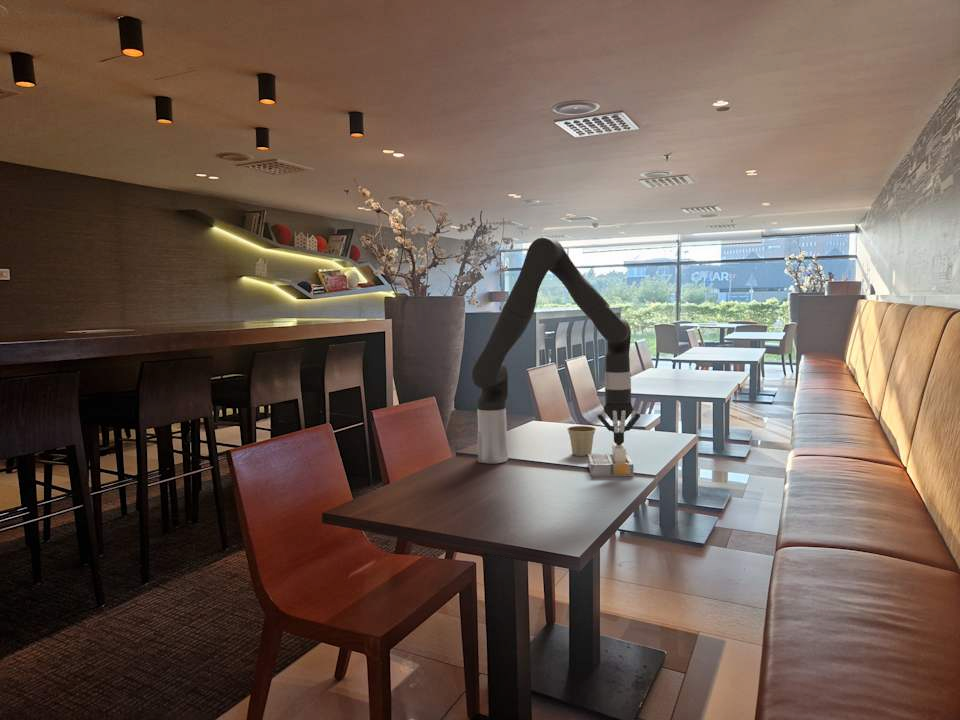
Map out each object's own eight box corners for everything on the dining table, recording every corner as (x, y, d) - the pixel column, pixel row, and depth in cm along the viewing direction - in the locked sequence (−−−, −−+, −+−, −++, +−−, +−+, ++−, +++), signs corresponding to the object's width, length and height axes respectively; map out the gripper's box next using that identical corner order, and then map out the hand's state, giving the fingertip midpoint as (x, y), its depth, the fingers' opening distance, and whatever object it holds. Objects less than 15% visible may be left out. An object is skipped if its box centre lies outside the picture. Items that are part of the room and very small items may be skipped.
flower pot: (595, 450, 212) (594, 425, 211) (597, 457, 202) (597, 431, 202) (567, 451, 213) (566, 426, 212) (568, 457, 203) (567, 431, 203)
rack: (591, 477, 180) (591, 464, 180) (588, 465, 194) (587, 453, 193) (633, 476, 179) (633, 463, 179) (627, 464, 192) (627, 452, 192)
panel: (615, 472, 182) (615, 448, 182) (612, 465, 190) (612, 442, 190) (626, 472, 182) (625, 448, 181) (622, 465, 190) (622, 442, 189)
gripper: (596, 389, 181) (597, 447, 182) (642, 388, 179) (643, 447, 181) (594, 385, 188) (595, 442, 190) (638, 384, 187) (639, 441, 188)
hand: (619, 444), depth 185 cm, fingers closed
